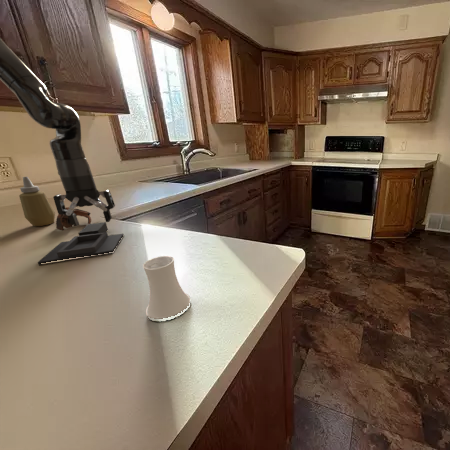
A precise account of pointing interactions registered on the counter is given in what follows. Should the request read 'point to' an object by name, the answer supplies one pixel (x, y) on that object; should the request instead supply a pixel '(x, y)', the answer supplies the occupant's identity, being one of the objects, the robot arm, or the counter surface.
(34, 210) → the squeeze bottle
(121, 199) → the counter surface
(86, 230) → the dark grey block
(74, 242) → the base pad
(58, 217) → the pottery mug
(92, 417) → the counter surface
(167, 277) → the vase
